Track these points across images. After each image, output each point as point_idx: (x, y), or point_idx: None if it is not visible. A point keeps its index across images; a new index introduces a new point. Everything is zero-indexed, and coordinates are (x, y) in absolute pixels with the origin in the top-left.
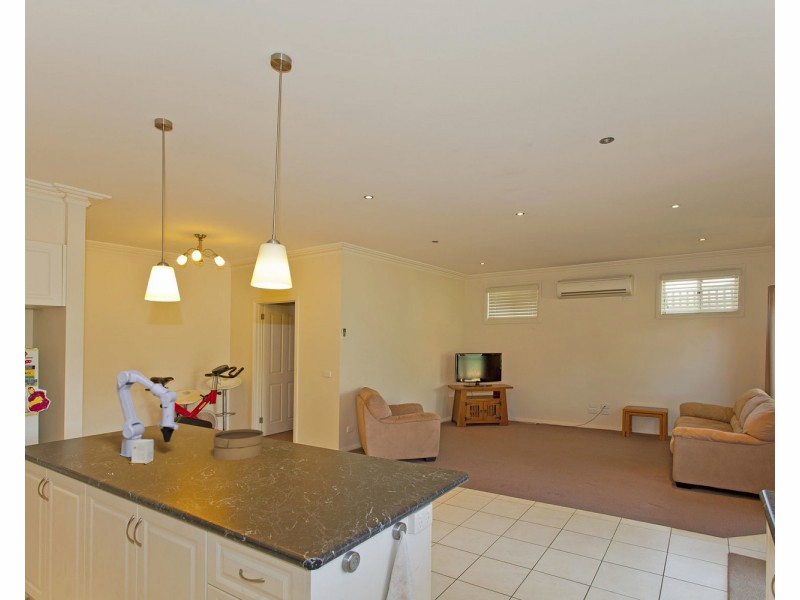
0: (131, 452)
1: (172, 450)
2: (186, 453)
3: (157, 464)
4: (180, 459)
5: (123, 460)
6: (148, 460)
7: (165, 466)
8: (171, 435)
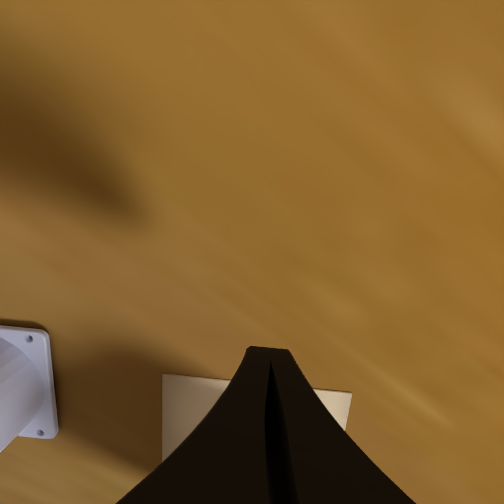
0: (11, 439)
1: (103, 99)
2: (343, 119)
3: (399, 460)
4: (461, 302)
5: (91, 479)
6: None
7: (497, 471)
8: (335, 420)
